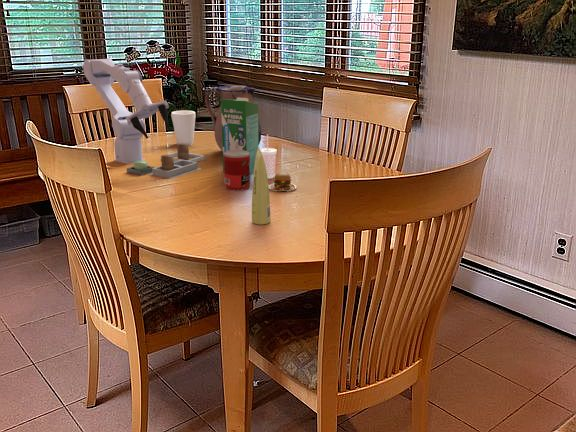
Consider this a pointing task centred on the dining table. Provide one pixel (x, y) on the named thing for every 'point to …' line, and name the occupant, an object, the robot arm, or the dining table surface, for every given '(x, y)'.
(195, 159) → the white shallow tray
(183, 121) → the foam cup
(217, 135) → the ceramic pitcher
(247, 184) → the canned food
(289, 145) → the dining table surface
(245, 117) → the milk carton
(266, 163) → the beverage cup
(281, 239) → the dining table surface
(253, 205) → the tube
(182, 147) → the cylinder
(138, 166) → the button
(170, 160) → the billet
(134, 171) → the button housing
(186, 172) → the grey rectangular tray
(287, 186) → the hamburger
